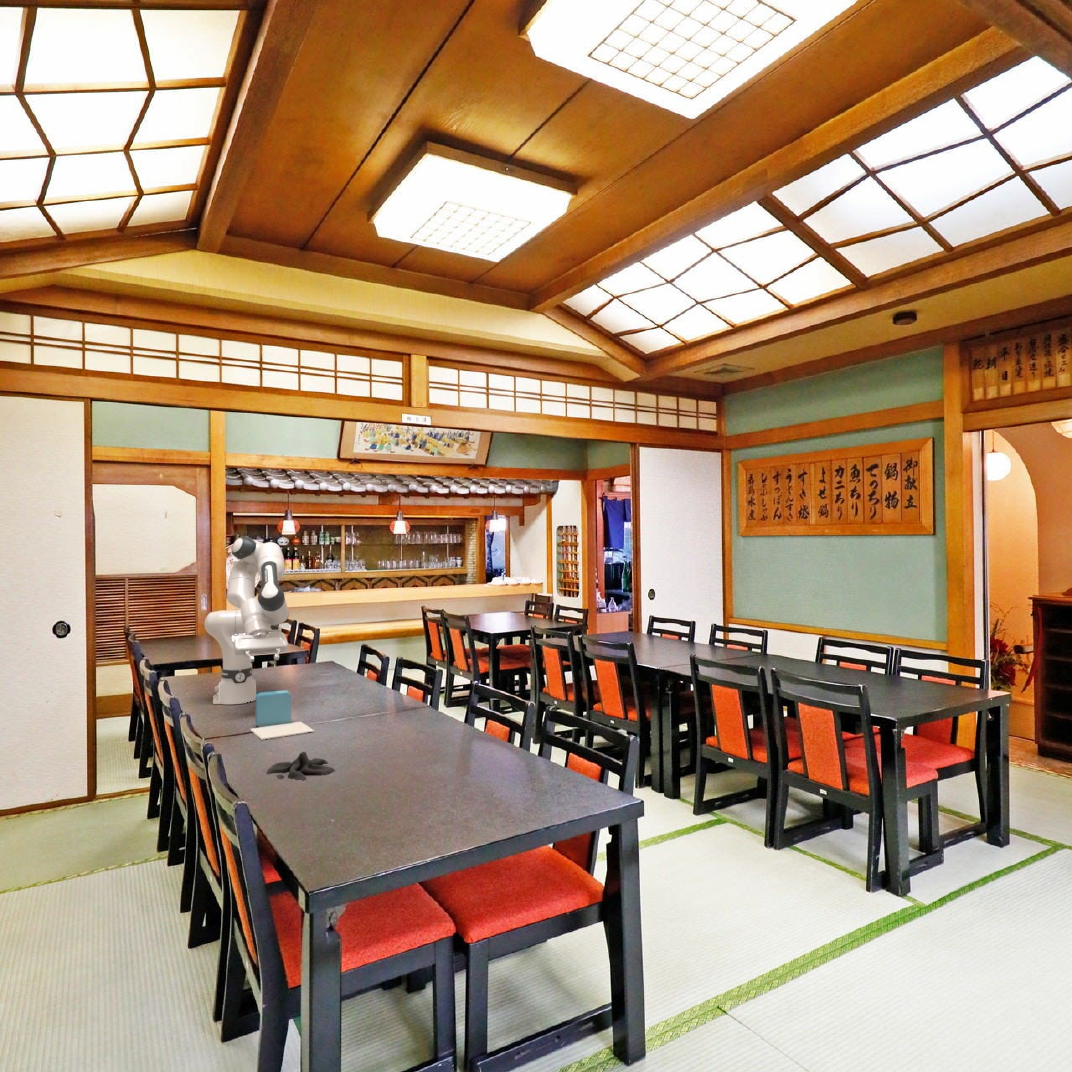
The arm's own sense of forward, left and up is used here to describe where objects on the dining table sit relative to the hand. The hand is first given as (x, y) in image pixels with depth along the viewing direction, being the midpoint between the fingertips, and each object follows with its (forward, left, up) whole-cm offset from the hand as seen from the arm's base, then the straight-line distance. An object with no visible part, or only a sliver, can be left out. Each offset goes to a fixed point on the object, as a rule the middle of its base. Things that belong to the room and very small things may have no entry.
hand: (264, 660), depth 270 cm
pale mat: (+26, 0, -22) cm, 34 cm away
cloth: (+76, -9, -23) cm, 80 cm away
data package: (+15, 0, -22) cm, 27 cm away
